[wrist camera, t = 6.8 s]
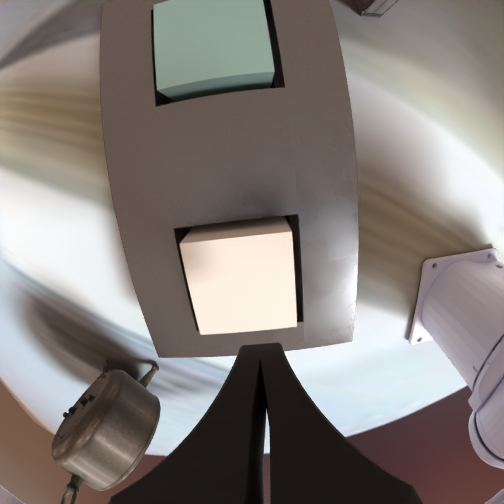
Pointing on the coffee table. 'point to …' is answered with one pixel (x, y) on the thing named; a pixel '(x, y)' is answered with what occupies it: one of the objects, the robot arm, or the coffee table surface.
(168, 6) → the teal key
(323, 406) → the coffee table surface
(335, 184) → the key housing
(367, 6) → the mini dv tape
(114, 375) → the alarm clock
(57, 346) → the coffee table surface
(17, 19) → the coffee table surface
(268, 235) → the white key
